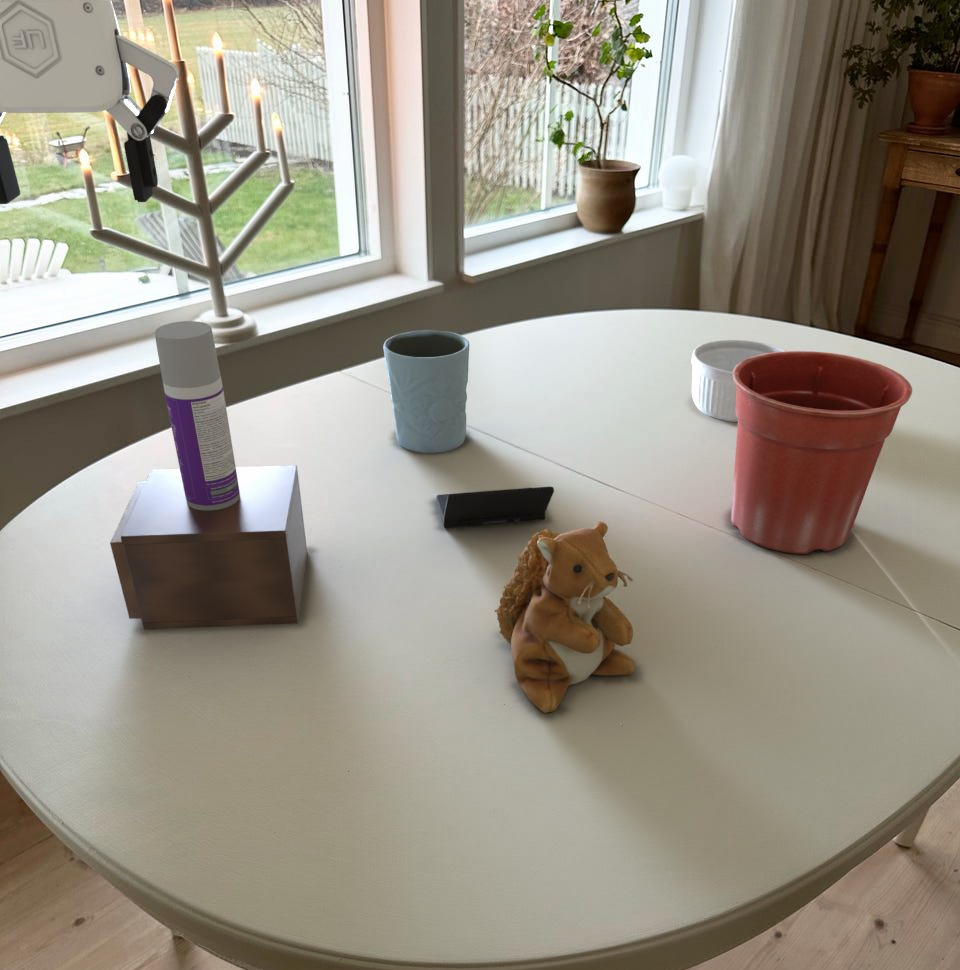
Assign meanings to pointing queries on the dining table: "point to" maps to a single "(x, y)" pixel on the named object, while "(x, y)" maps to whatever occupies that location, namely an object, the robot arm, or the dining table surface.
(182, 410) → the container
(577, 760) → the dining table surface
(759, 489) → the flower pot
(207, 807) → the dining table surface
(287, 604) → the cabinet
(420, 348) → the light blue cup
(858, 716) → the dining table surface
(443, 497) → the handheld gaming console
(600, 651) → the stuffed squirrel
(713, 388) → the ramekin
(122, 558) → the drawer
